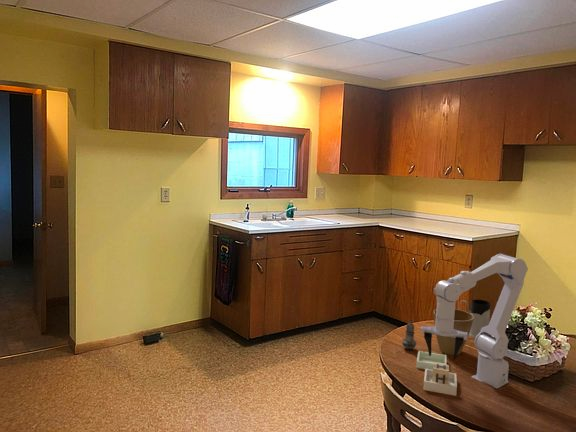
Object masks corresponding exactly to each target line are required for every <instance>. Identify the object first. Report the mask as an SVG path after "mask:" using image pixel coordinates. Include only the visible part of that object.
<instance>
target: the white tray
mask: <svg viewBox="0 0 576 432" xmlns="http://www.w3.org/2000/svg"><path fill="white" fill-rule="evenodd" d="M432 377H433V370H431V369H424V378H423V391H429V392H432V393H433V392H434V393H440V394H445V395H450V396H456V397H457V390H458V389H457V388H458V386H457V385H458V381H457V373H453V372H449V379H448V384H442V383H436V382H432Z"/></svg>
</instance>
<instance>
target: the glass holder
mask: <svg viewBox="0 0 576 432" xmlns="http://www.w3.org/2000/svg"><path fill="white" fill-rule="evenodd" d="M462 302H465V303H466V306H467V312H468V313H470V314H472V315H473V317H474V319H473V323H472V326H471V330H470V333H469V336H470V337H472V338H474V339H475V338H476V336H477V335H478V334H479V333H480V331H481V328H483V327H485V326H488V325H489V322H490V319H491V302H490V301H488V300H485V299H472V300H471V307H470V305H469V303H468V302H467V300H463V299H462V300H460V302H459V303H458V310H461V303H462ZM470 308H471V309H470ZM469 336H468V337H469Z"/></svg>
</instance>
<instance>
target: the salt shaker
mask: <svg viewBox="0 0 576 432" xmlns="http://www.w3.org/2000/svg"><path fill="white" fill-rule="evenodd" d="M414 334H416V333H415V324H413V323H412V320H411V321H409V322H408V323H407V324H406V330H405V338H403V339H402V340H401V344H402V346H403V347H404V348H405V349H406V350H408V351H411V350H413V349H414V348H416V346H417V344H418V341H416V340H415V338H414V337H415V335H414Z"/></svg>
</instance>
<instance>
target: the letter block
mask: <svg viewBox="0 0 576 432" xmlns="http://www.w3.org/2000/svg"><path fill="white" fill-rule="evenodd" d="M449 373H450V365H449V364H446V365H445V364H439V363H434V364H433V377H432V382H436V383H442V384H448V379H449Z"/></svg>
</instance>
